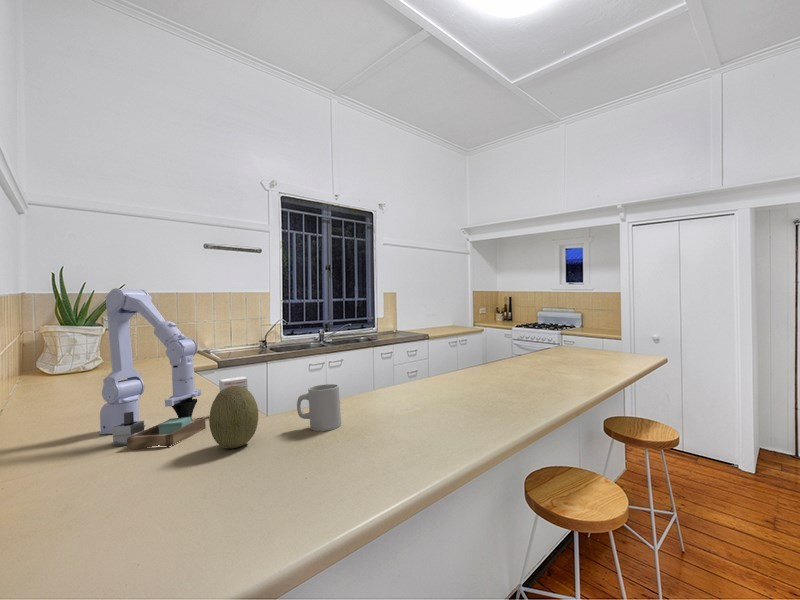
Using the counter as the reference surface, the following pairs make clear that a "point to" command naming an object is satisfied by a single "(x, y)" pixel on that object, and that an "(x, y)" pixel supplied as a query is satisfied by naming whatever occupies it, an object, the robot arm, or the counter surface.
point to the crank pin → (128, 418)
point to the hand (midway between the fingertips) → (185, 425)
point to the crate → (173, 424)
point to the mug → (322, 407)
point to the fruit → (233, 417)
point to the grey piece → (126, 432)
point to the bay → (164, 436)
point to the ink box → (233, 382)
